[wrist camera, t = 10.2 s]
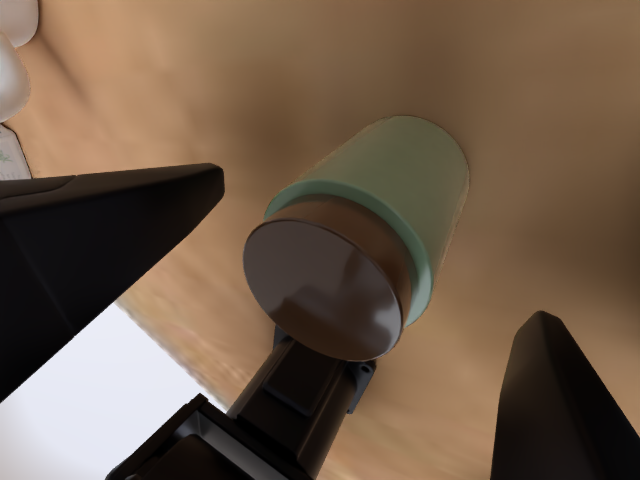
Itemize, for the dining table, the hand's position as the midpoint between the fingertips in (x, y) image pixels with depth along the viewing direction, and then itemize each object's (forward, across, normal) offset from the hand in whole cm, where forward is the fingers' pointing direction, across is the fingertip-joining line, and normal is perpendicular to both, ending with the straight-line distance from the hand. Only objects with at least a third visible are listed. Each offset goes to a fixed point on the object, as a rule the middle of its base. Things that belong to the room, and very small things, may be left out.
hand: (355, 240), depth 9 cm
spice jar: (+4, 0, 0) cm, 4 cm away
